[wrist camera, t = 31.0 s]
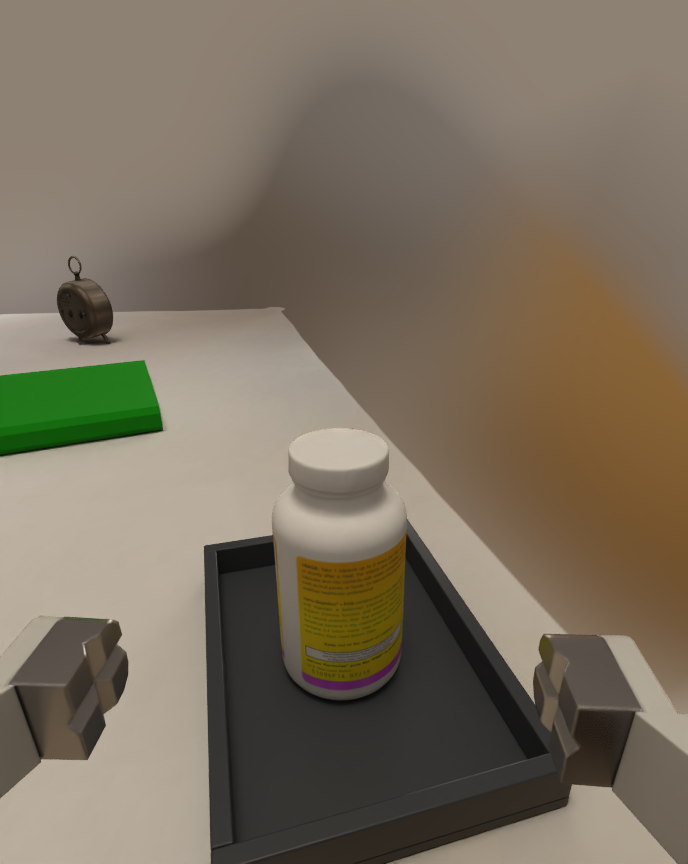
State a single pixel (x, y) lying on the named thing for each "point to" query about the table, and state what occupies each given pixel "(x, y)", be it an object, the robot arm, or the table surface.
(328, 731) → the tray
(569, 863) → the table surface
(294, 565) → the supplement bottle
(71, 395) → the book
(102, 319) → the alarm clock
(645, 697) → the robot arm
